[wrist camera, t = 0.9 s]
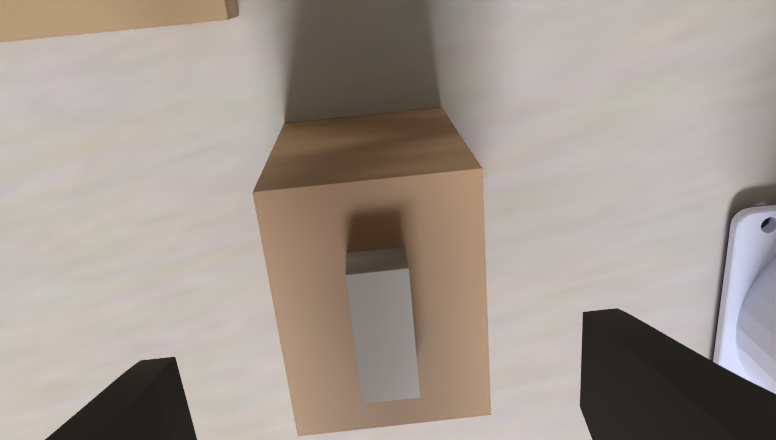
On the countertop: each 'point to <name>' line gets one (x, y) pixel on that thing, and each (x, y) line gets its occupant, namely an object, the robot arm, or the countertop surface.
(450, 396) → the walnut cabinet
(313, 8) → the countertop surface
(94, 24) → the wall board
